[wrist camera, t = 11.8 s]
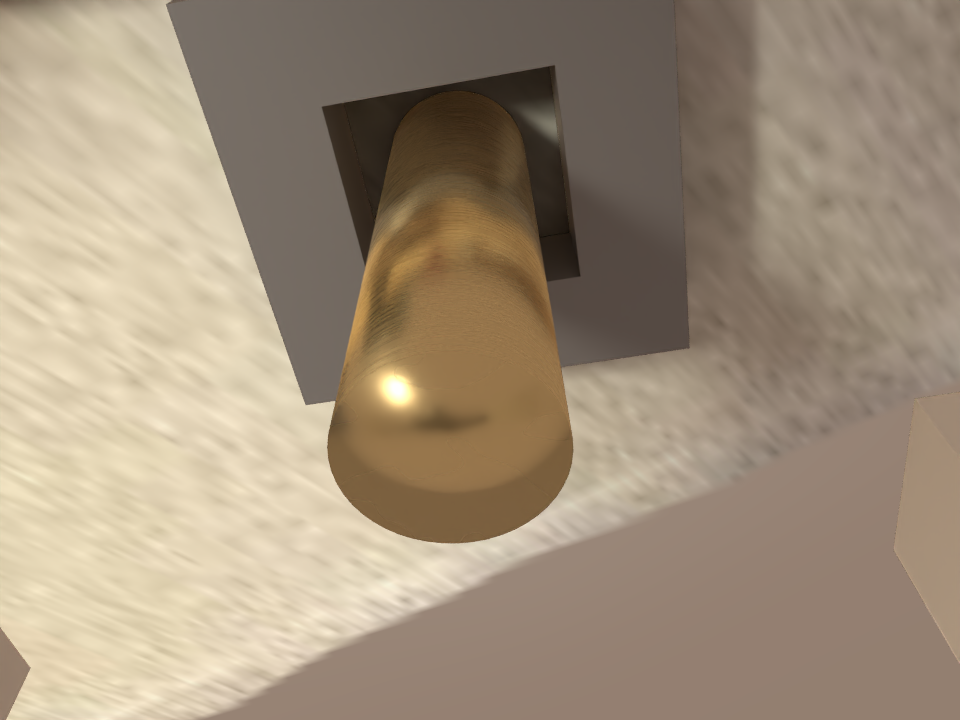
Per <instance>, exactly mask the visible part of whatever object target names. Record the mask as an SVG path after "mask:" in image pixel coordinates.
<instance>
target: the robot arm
mask: <svg viewBox="0 0 960 720" xmlns="http://www.w3.org/2000/svg"><path fill="white" fill-rule="evenodd" d="M893 550H894V552H895V554H896V555H897V557H898V559H899V560H900V562H901V564H902V566H903V567H904V569H905V571H906V573H907V574H908V576H909V577H910V579H911V581H912V583H913V584H914V586H915V588H916V589H917V591H918V593H919V595H920V597H921V598H922V600H923V602H924V604H925V605H926V607H927V609H928V610H929V612H930V614H931V616H932V617H933V619H934V621H935V622H936V624H937V626H938V628H939V629H940V631H941V633H942V635H943V636H944V638H945V640H946V641H947V643H948V645H949V647H950V648H951V650H952V652H953V654H954V655H955V657H956V659H957V661H958V662H959V664H960V392H955V393H948V394H942V395H935V396H928V397H921V398H915V401H914V408H913V415H912V422H911V429H910V436H909V443H908V450H907V457H906V464H905V471H904V478H903V485H902V492H901V499H900V506H899V513H898V520H897V527H896V533H895V541H894V547H893ZM29 670H30V667H29V665H28V664H27V663H26V661H25V660H24V659H23V657H22V656H21V655H20V653H19V652H18V651H17V649H16V648H15V647H14V645H13V644H12V643H11V641H10V640H9V639H8V637H7V636H6V635H5V633H4V632H3V630H2V629H1V628H0V720H6V719H7V716H8V714H9V712H10V710H11V708H12V706H13V704H14V702H15V700H16V698H17V695H18V693H19V691H20V689H21V687H22V685H23V683H24V681H25V679H26V677H27V674H28V672H29Z"/></svg>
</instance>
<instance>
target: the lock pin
mask: <svg viewBox="0 0 960 720" xmlns="http://www.w3.org/2000/svg"><path fill="white" fill-rule="evenodd" d="M327 449H328V460H329V463H330V467H331V471H332V474H333V476H334V478H335V481H336V483H337V485H338V486H339V488H340V489H341V491H342V493H343V494H344V495H345V497H346V498H347V499H348V500H349V501H350V503H351V504H352V505H353V506H354V507H355V508H356V509H358V510H359V511H360V512H361V513H362V514H363V515H365V516H366V517H367V518H369V519H370V520H372V521H373V522H375V523H377V524H378V525H380V526H382V527H384V528H386V529H388V530H390V531H392V532H395V533H397V534H400V535H403V536H406V537H409V538H413V539H417V540H422V541H427V542H437V543H466V542H475V541H480V540H486V539H490V538H493V537H496V536H500V535H503V534H505V533H508V532H510V531H513V530H515V529H517V528H519V527H520V526H522V525H524V524H526V523H528V522H529V521H530V520H532V519H533V518H535V517H536V516H538V515H539V514H540V513H541V512H542V511H543V510H544V509H546V508H547V507H548V506H549V505H550V503H551V502H552V501H553V500H554V499H555V498H556V496H557V495H558V493H559V492H560V490H561V489H562V487H563V486H564V483H565V481H566V479H567V477H568V475H569V471H570V468H571V464H572V457H573V438H572V432H571V426H570V420H569V414H568V407H567V401H566V395H565V389H564V383H563V377H562V371H561V365H560V359H559V353H558V347H557V341H556V335H555V329H554V323H553V317H552V311H551V305H550V299H549V293H548V287H547V281H546V275H545V269H544V263H543V257H542V251H541V245H540V239H539V233H538V227H537V221H536V215H535V209H534V203H533V197H532V191H531V185H530V179H529V173H528V167H527V161H526V155H525V149H524V144H523V139H522V136H521V133H520V131H519V129H518V127H517V125H516V123H515V121H514V120H513V119H512V117H511V116H510V115H509V114H508V113H507V111H506V110H505V109H504V108H502V107H501V106H500V105H499V104H497V103H496V102H494V101H493V100H491V99H489V98H487V97H485V96H483V95H480V94H476V93H473V92H467V91H448V92H443V93H439V94H435V95H433V96H430V97H428V98H426V99H424V100H423V101H421V102H419V103H418V104H417V105H415V106H414V107H413V108H412V109H411V110H410V111H409V112H408V113H407V114H406V115H405V117H404V118H403V119H402V121H401V123H400V124H399V126H398V128H397V131H396V133H395V136H394V140H393V144H392V148H391V153H390V157H389V162H388V166H387V171H386V176H385V180H384V185H383V189H382V194H381V198H380V203H379V207H378V212H377V216H376V221H375V225H374V230H373V234H372V239H371V243H370V248H369V253H368V257H367V262H366V266H365V271H364V275H363V280H362V284H361V289H360V293H359V298H358V302H357V307H356V311H355V316H354V320H353V325H352V330H351V334H350V339H349V343H348V348H347V352H346V357H345V361H344V366H343V370H342V375H341V379H340V384H339V388H338V393H337V397H336V402H335V407H334V411H333V416H332V420H331V425H330V429H329V434H328V445H327Z"/></svg>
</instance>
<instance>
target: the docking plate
mask: <svg viewBox="0 0 960 720" xmlns="http://www.w3.org/2000/svg"><path fill="white" fill-rule="evenodd" d="M166 6H167V9H168V12H169V15H170V18H171V21H172V23H173V26H174V29H175V32H176V35H177V38H178V41H179V43H180V46H181V49H182V52H183V55H184V58H185V61H186V64H187V66H188V69H189V72H190V75H191V78H192V81H193V84H194V86H195V89H196V92H197V95H198V98H199V101H200V104H201V106H202V109H203V112H204V115H205V118H206V121H207V124H208V127H209V129H210V132H211V135H212V138H213V141H214V144H215V147H216V149H217V152H218V155H219V158H220V161H221V164H222V167H223V170H224V172H225V175H226V178H227V181H228V184H229V187H230V190H231V192H232V195H233V198H234V201H235V204H236V207H237V210H238V212H239V215H240V218H241V221H242V224H243V227H244V230H245V233H246V235H247V238H248V241H249V244H250V247H251V250H252V253H253V255H254V258H255V261H256V264H257V267H258V270H259V273H260V276H261V278H262V281H263V284H264V287H265V290H266V293H267V296H268V298H269V301H270V304H271V307H272V310H273V313H274V316H275V318H276V321H277V324H278V327H279V330H280V333H281V336H282V339H283V341H284V344H285V347H286V350H287V353H288V356H289V359H290V361H291V364H292V367H293V370H294V373H295V376H296V379H297V382H298V384H299V387H300V390H301V393H302V396H303V399H304V402H305V404H306V405H310V404H316V403H323V402H330V401H336V397H337V393H338V388H339V384H340V379H341V375H342V370H343V366H344V361H345V357H346V352H347V348H348V343H349V339H350V334H351V330H352V325H353V320H354V316H355V311H356V307H357V302H358V298H359V293H360V289H361V284H362V280H363V275H364V271H365V266H366V262H367V257H368V253H369V248H370V243H371V239H372V234H373V230H374V225H375V223H374V219H373V215H372V211H371V207H370V203H369V199H368V196H367V192H366V188H365V184H364V180H363V176H362V172H361V168H360V165H359V161H358V157H357V153H356V149H355V145H354V141H353V137H352V133H351V130H350V126H349V122H348V118H347V114H346V110H345V106H344V103H345V102H350V101H356V100H362V99H367V98H373V97H379V96H384V95H390V94H395V93H401V92H407V91H412V90H418V89H424V88H429V87H435V86H441V85H446V84H452V83H457V82H463V81H469V80H474V79H480V78H486V77H491V76H497V75H502V74H508V73H514V72H519V71H525V70H531V69H536V68H542V67H547V66H549V67H550V76H551V84H552V92H553V100H554V108H555V116H556V124H557V132H558V140H559V148H560V156H561V164H562V173H563V181H564V189H565V197H566V205H567V213H568V221H569V229H570V233H565V234H559V235H553V236H547V237H540V238H539V239H540V245H541V251H542V257H543V263H544V269H545V275H546V281H547V287H548V293H549V299H550V305H551V311H552V317H553V323H554V329H555V335H556V341H557V347H558V353H559V359H560V365H561V367H565V366H572V365H579V364H585V363H592V362H599V361H606V360H612V359H619V358H626V357H632V356H639V355H646V354H653V353H659V352H666V351H673V350H679V349H686V348H689V326H688V304H687V281H686V258H685V236H684V213H683V191H682V168H681V145H680V123H679V100H678V77H677V55H676V32H675V10H674V0H172V1H171V2H169V3H168V4H166Z"/></svg>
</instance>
